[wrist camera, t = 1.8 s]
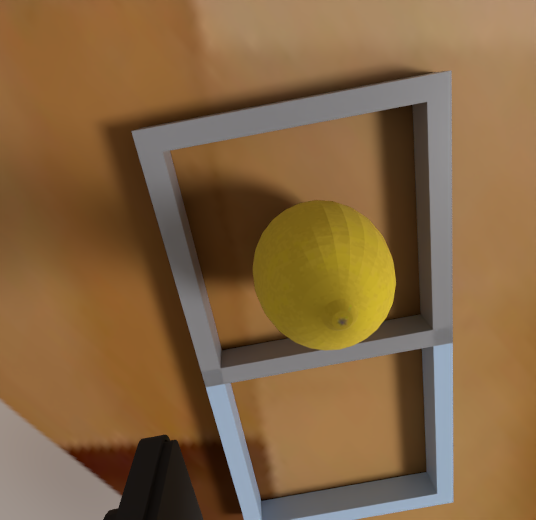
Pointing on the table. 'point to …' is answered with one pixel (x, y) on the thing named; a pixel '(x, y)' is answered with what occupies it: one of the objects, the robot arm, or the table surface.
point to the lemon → (324, 275)
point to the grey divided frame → (300, 357)
